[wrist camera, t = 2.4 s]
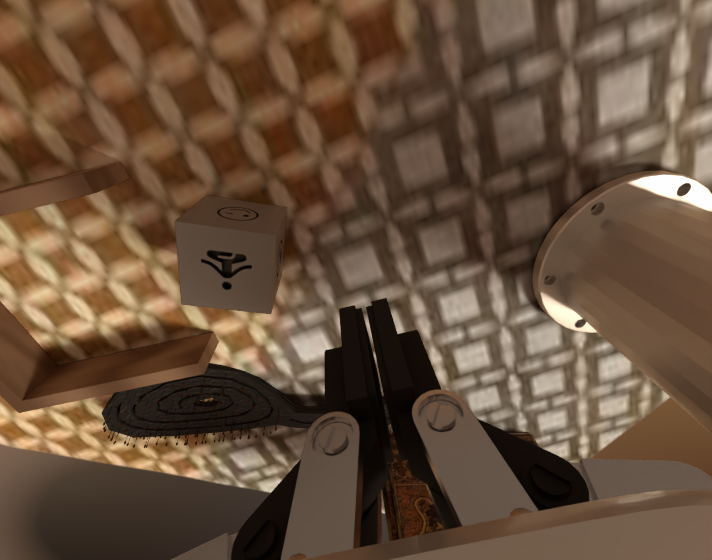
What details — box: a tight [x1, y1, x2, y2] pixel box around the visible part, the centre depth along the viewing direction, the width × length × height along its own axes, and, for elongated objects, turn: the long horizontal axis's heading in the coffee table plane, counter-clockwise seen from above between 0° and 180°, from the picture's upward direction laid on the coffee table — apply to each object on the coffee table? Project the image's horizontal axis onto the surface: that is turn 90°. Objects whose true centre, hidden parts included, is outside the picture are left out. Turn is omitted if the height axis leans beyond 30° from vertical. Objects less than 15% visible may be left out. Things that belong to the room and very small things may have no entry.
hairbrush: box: [102, 363, 391, 448], centre depth 29 cm, size 8×4×25 cm
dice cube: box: [175, 195, 287, 314], centre depth 20 cm, size 5×5×5 cm
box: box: [0, 162, 219, 413], centre depth 22 cm, size 14×14×4 cm
